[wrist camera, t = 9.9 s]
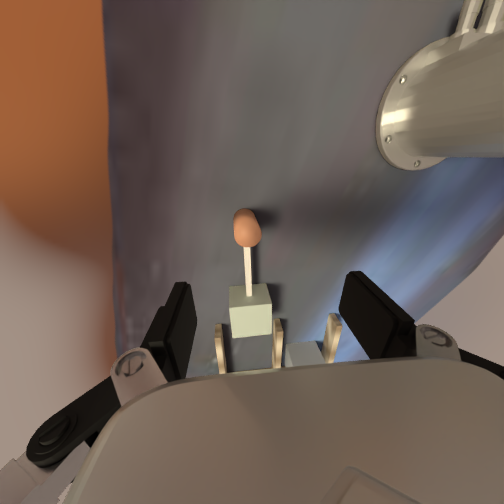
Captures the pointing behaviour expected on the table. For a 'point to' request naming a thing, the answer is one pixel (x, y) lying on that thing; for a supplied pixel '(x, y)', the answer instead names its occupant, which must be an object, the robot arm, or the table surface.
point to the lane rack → (327, 349)
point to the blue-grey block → (303, 354)
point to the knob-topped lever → (249, 285)
